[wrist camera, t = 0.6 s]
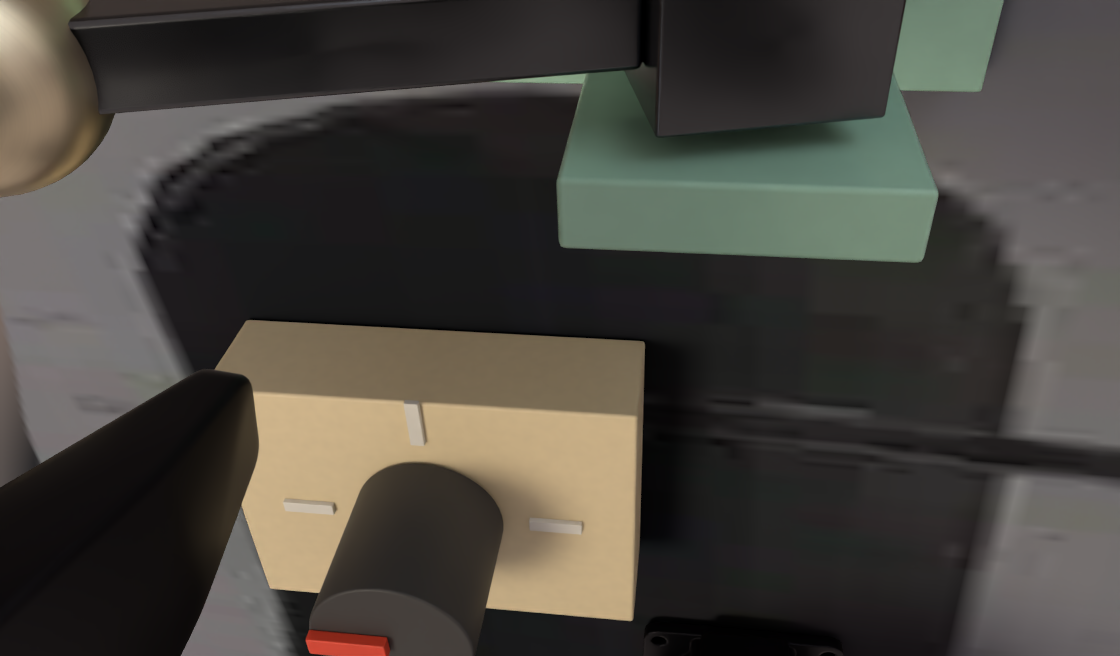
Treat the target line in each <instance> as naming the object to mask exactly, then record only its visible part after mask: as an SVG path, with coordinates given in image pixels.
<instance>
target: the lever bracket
mask: <svg viewBox="0 0 1120 656" xmlns="http://www.w3.org/2000/svg"><path fill="white" fill-rule="evenodd" d="M1003 2H1004V0H906V5H905V10H904V15H903V21H902V26H901V31H900V37H899V42H898V48H897V53H896V58H895V64H894V69H893V74H892V80H891V85H890V91H889V96H888V101H887V107H886V112H885V115H884V117H882V118H874V119H863V120H851V121H840V122H829V123H818V124H807V125H796V126H785V127H774V128H763V129H752V130H741V131H730V132H719V133H708V134H697V135H686V136H675V137H664V138H658V137H656V136H655V134H654V132H653V130H652V128H651V126H650V124H649V121H648V119H647V117H646V115H645V113H644V111H643V109H642V107H641V105H640V103H639V101H638V99H637V97H636V95H635V92H634V90H633V88H632V86H631V84H630V82H629V80H628V78H627V76H626V74H625V72H624V70H623V71H611V72H599V73H587V74H575V75H563V76H552V77H540V78H528V79H516V80H504V81H492V82H518V83H566V84H583V86H582V90H581V94H580V97H579V101H578V105H577V108H576V112H575V116H574V119H573V123H572V127H571V130H570V134H569V138H568V141H567V145H566V148H565V152H564V156H563V159H562V163H561V167H560V170H559V174H558V178H557V181H556V186H557V211H558V236H559V243H560V245H561V246H562V247H564V248H582V249H606V250H630V251H653V252H677V253H701V254H724V255H748V256H772V257H795V258H819V259H843V260H866V261H890V262H914V263H917V262H921V261H922V259H923V257H924V255H925V251H926V246H927V242H928V238H929V234H930V229H931V225H932V221H933V217H934V212H935V208H936V204H937V200H938V195H939V194H938V190H937V187H936V185H935V182H934V179H933V177H932V174H931V171H930V169H929V166H928V163H927V160H926V158H925V155H924V152H923V150H922V147H921V144H920V142H919V139H918V136H917V134H916V131H915V128H914V126H913V123H912V120H911V118H910V115H909V112H908V109H907V107H906V104H905V101H904V99H903V96H902V93H901V91H900V90H902V91H949V92H980V91H981V89H982V87H983V82H984V78H985V74H986V70H987V66H988V62H989V58H990V54H991V50H992V46H993V42H994V38H995V34H996V30H997V26H998V22H999V18H1000V14H1001V10H1002V6H1003Z"/></svg>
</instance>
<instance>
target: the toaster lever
mask: <svg viewBox="0 0 1120 656" xmlns="http://www.w3.org/2000/svg"><path fill="white" fill-rule="evenodd" d="M905 5H906V0H0V197H7V196H14V195H21V194H24V193H28V192H31V191H35V190H38V189H40V188H43V187H45V186H48V185H50V184H52V183H55V182H57V181H59V180H60V179H62V178H63V177H65V176H67V175H68V174H70V173H71V172H73V171H74V170H75V169H77V168H78V167H79V166H80V165H81V164H83V163H84V162H85V161H86V160H87V159H88V158H89V157H90V156H91V155H92V153H93V152H94V151H95V150H96V149H97V147H98V146H99V145H100V143H101V142H102V141H103V139H104V137H105V135H106V134H107V132H108V130H109V128H110V126H111V123H112V120H113V118H114V115H115V113H123V112H135V111H147V110H159V109H171V108H183V107H195V106H207V105H218V104H230V103H242V102H254V101H266V100H278V99H290V98H302V97H314V96H326V95H337V94H349V93H361V92H373V91H385V90H397V89H409V88H421V87H433V86H445V85H456V84H468V83H480V82H492V81H504V80H516V79H528V78H540V77H552V76H563V75H575V74H587V73H599V72H611V71H623V70H624V72H625V74H626V76H627V78H628V80H629V82H630V84H631V86H632V88H633V90H634V92H635V95H636V97H637V99H638V101H639V103H640V105H641V107H642V109H643V111H644V113H645V115H646V117H647V119H648V121H649V124H650V126H651V128H652V130H653V132H654V134H655V136H656V137H658V138H664V137H675V136H686V135H697V134H708V133H719V132H730V131H741V130H752V129H763V128H774V127H785V126H796V125H807V124H818V123H829V122H840V121H851V120H863V119H874V118H882V117H884V115H885V112H886V107H887V101H888V96H889V91H890V85H891V80H892V74H893V69H894V64H895V58H896V53H897V48H898V42H899V37H900V31H901V26H902V21H903V15H904V10H905Z"/></svg>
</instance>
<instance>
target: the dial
mask: <svg viewBox="0 0 1120 656" xmlns="http://www.w3.org/2000/svg"><path fill="white" fill-rule="evenodd" d="M502 535H503V519H502V515H501V512H500V509H499V507H498V506H497V504H496V502H495V501H494V499H493V498H492V497H491V496H490V495H489V494H488V492H487V491H486V490H485V489H483V488H482V487H481V486H480V485H478V484H477V483H476V482H474V481H472V480H471V479H469V478H468V477H466V476H464V475H462V474H460V473H457V472H455V471H452V470H449V469H446V468H443V467H439V466H434V465H427V464H402V465H396V466H392V467H389V468H386V469H384V470H381V471H379V472H378V473H376V474H374V475H373V476H372V477H370V478H369V479H368V480H367V481H366V482H365V484H364V485H363V486H362V488H361V490H360V492H359V495H358V497H357V500H356V502H355V505H354V507H353V510H352V512H351V515H350V517H349V520H348V522H347V525H346V527H345V530H344V532H343V535H342V537H341V540H340V542H339V545H338V547H337V550H336V552H335V555H334V557H333V560H332V562H331V565H330V567H329V570H328V572H327V575H326V577H325V580H324V582H323V585H322V587H321V590H320V592H319V595H318V597H317V600H316V602H315V605H314V607H313V610H312V612H311V615H310V620H309V629H310V630H309V632H308V635H307V637H306V643H307V646H308V649H309V652H310V653H311V654H322V655H324V656H475V653H476V649H477V644H478V640H479V636H480V631H481V627H482V622H483V618H484V614H485V609H486V605H487V601H488V596H489V592H490V587H491V583H492V579H493V574H494V570H495V565H496V561H497V557H498V552H499V548H500V544H501V539H502Z"/></svg>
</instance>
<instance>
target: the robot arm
mask: <svg viewBox="0 0 1120 656" xmlns="http://www.w3.org/2000/svg"><path fill="white" fill-rule="evenodd" d="M258 452H259V436H258V428H257V420H256V412H255V404H254V396H253V389H252V385H251V383H250V381H249V379H248V378H247V377H246V376H244V375H242V374H237V373H231V372H225V371H219V370H212V369H203V370H200V371H197V372H195V373H193V374H192V375H190V376H188V377H187V378H185V379H183V380H181V381H180V382H178V383H176V384H175V385H173V386H171V387H170V388H168V389H166V390H165V391H163V392H161V393H159V394H158V395H156V396H154V397H153V398H151V399H149V400H148V401H146V402H144V403H142V404H141V405H139V406H137V407H136V408H134V409H132V410H131V411H129V412H127V413H126V414H124V415H122V416H120V417H119V418H117V419H115V420H114V421H112V422H110V423H109V424H107V425H105V426H104V427H102V428H100V429H98V430H97V431H95V432H93V433H92V434H90V435H88V436H87V437H85V438H83V439H82V440H80V441H78V442H76V443H75V444H73V445H71V446H70V447H68V448H66V449H65V450H63V451H61V452H59V453H58V454H56V455H54V456H53V457H51V458H49V459H48V460H46V461H44V462H43V463H41V464H39V465H37V466H36V467H34V468H32V469H31V470H29V471H28V472H26V473H24V474H22V475H21V476H19V477H17V478H16V479H14V480H12V481H10V482H9V483H7V484H5V485H4V486H2V487H0V656H181V654H182V652H183V650H184V648H185V646H186V644H187V642H188V640H189V638H190V636H191V634H192V631H193V629H194V627H195V625H196V623H197V621H198V619H199V616H200V614H201V612H202V609H203V607H204V604H205V602H206V599H207V597H208V594H209V591H210V589H211V586H212V583H213V581H214V578H215V575H216V573H217V570H218V567H219V564H220V562H221V559H222V556H223V553H224V551H225V548H226V545H227V542H228V540H229V537H230V534H231V532H232V529H233V526H234V523H235V521H236V518H237V515H238V512H239V510H240V507H241V504H242V502H243V499H244V496H245V493H246V491H247V488H248V485H249V482H250V480H251V477H252V474H253V472H254V469H255V466H256V462H257V458H258ZM643 656H843V648H842V643H841V642H840V641H839V640H837V639H835V638H831V637H823V636H811V635H800V634H789V633H778V632H767V631H756V630H745V629H734V628H722V627H711V626H700V625H689V624H678V623H667V622H653V623H650V624H648V625H647V626H646V627H645V633H644V654H643Z"/></svg>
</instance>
